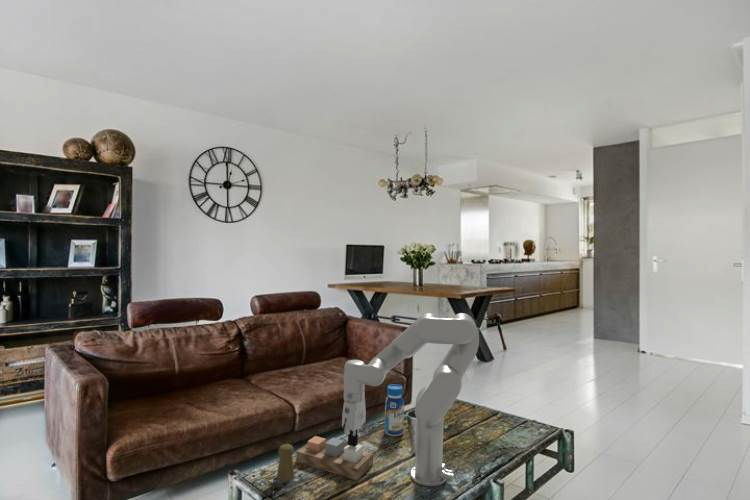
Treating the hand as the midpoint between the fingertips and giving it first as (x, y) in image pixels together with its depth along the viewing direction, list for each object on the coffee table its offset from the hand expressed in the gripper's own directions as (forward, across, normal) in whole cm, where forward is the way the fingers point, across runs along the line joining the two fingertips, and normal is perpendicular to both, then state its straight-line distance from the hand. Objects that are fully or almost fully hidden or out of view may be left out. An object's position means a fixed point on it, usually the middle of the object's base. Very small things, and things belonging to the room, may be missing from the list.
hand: (352, 445), depth 156 cm
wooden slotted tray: (+9, 0, +8) cm, 12 cm away
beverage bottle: (+9, +34, -1) cm, 35 cm away
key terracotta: (+7, 0, +16) cm, 17 cm away
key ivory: (+5, 0, 0) cm, 5 cm away
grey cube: (+6, 0, +8) cm, 9 cm away
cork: (+9, -16, +18) cm, 25 cm away
